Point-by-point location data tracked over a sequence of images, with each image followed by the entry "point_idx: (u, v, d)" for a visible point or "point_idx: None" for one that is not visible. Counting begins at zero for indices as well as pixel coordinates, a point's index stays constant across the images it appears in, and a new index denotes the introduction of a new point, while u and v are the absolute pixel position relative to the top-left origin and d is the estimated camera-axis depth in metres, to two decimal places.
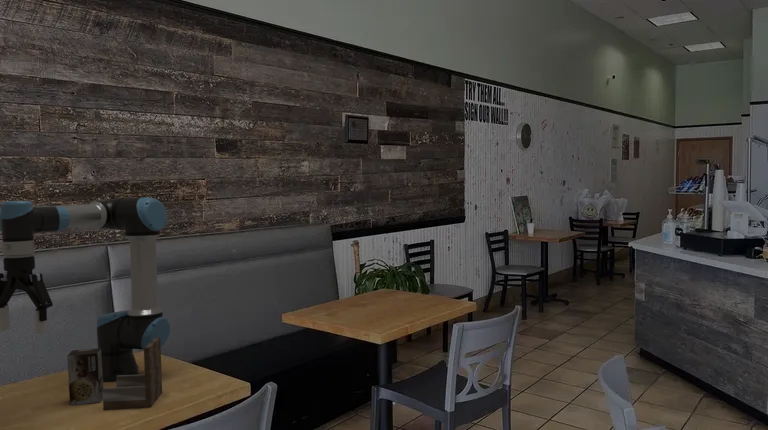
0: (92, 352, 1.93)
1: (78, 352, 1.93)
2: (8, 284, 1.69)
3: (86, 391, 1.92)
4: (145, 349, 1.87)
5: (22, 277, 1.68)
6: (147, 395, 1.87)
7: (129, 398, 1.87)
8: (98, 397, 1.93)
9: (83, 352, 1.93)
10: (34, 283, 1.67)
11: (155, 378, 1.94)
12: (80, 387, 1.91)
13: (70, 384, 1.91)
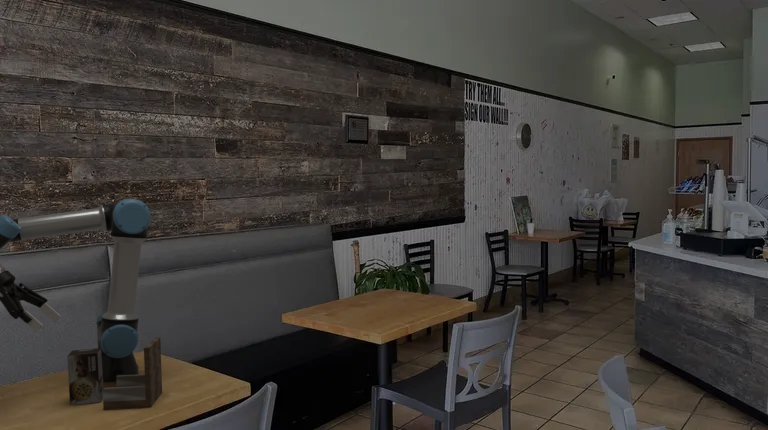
0: (92, 352, 1.93)
1: (78, 352, 1.93)
2: None
3: (86, 391, 1.92)
4: (145, 349, 1.87)
5: None
6: (147, 395, 1.87)
7: (129, 398, 1.87)
8: (98, 397, 1.93)
9: (83, 352, 1.93)
10: None
11: (155, 378, 1.94)
12: (80, 387, 1.91)
13: (70, 384, 1.91)
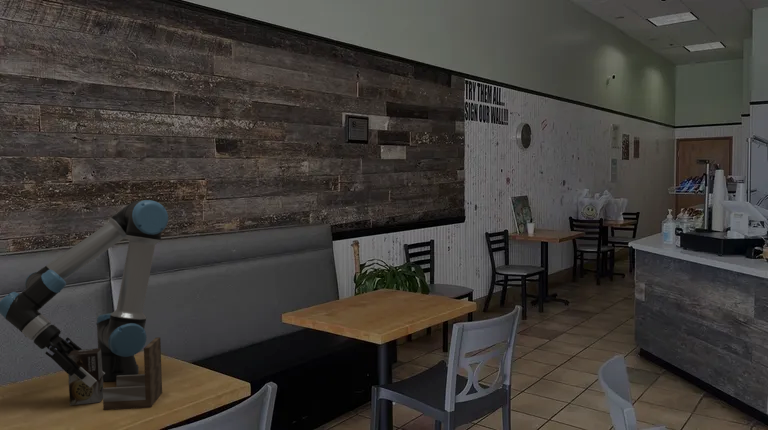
0: (92, 352, 1.93)
1: (78, 352, 1.93)
2: None
3: (86, 391, 1.92)
4: (145, 349, 1.87)
5: None
6: (147, 395, 1.87)
7: (129, 398, 1.87)
8: (98, 397, 1.93)
9: (83, 352, 1.93)
10: None
11: (155, 378, 1.94)
12: (80, 387, 1.91)
13: (70, 384, 1.91)
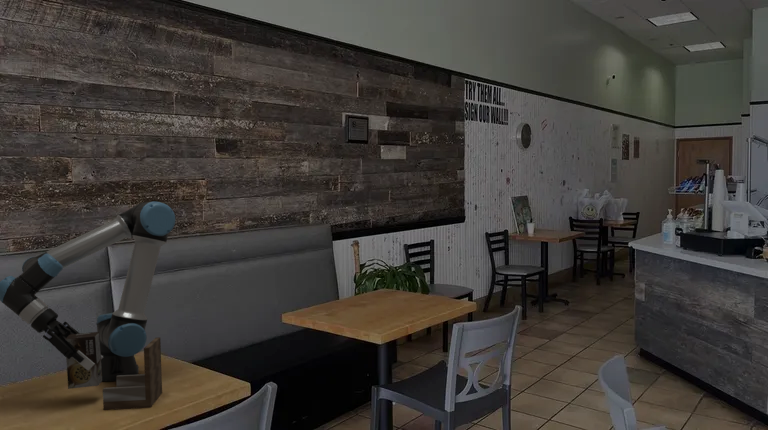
0: (90, 336, 1.92)
1: (76, 336, 1.93)
2: None
3: (84, 375, 1.91)
4: (145, 349, 1.87)
5: None
6: (147, 395, 1.87)
7: (129, 398, 1.87)
8: (96, 380, 1.92)
9: (81, 336, 1.93)
10: None
11: (155, 378, 1.94)
12: (78, 371, 1.91)
13: (68, 367, 1.90)
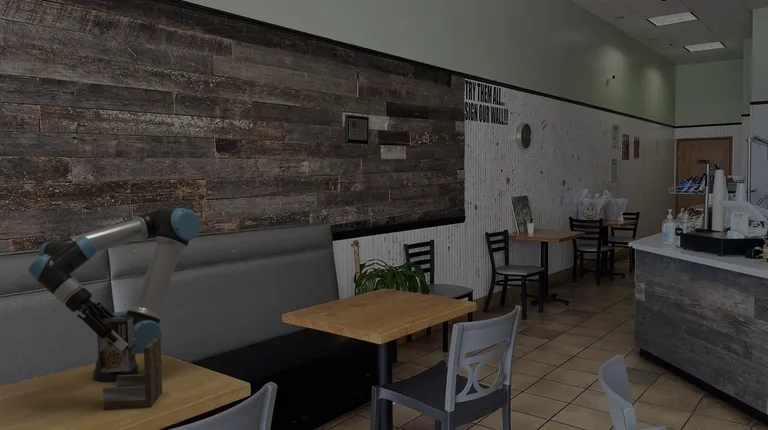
0: (123, 320, 1.90)
1: (110, 319, 1.91)
2: None
3: (116, 359, 1.89)
4: (145, 349, 1.87)
5: None
6: (147, 395, 1.87)
7: (129, 398, 1.87)
8: (128, 366, 1.90)
9: (114, 319, 1.91)
10: None
11: (155, 378, 1.94)
12: (111, 355, 1.89)
13: (101, 351, 1.89)
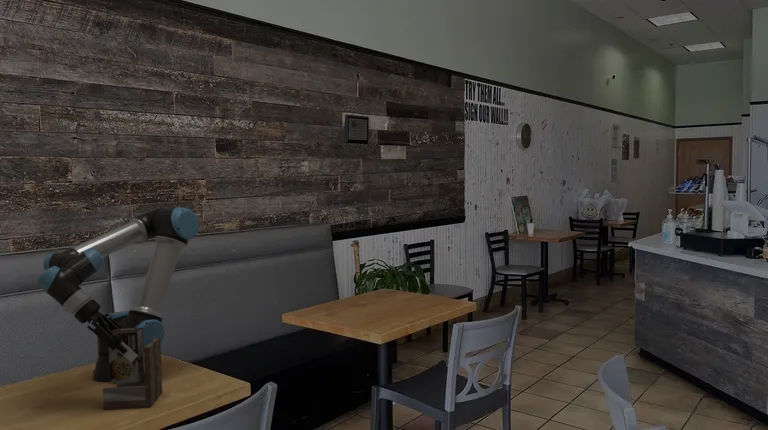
0: (133, 331, 1.91)
1: (119, 331, 1.92)
2: None
3: (126, 371, 1.90)
4: (145, 349, 1.87)
5: None
6: (147, 395, 1.87)
7: (129, 398, 1.87)
8: (137, 377, 1.91)
9: (124, 331, 1.91)
10: None
11: (155, 378, 1.94)
12: (120, 366, 1.90)
13: (110, 362, 1.89)
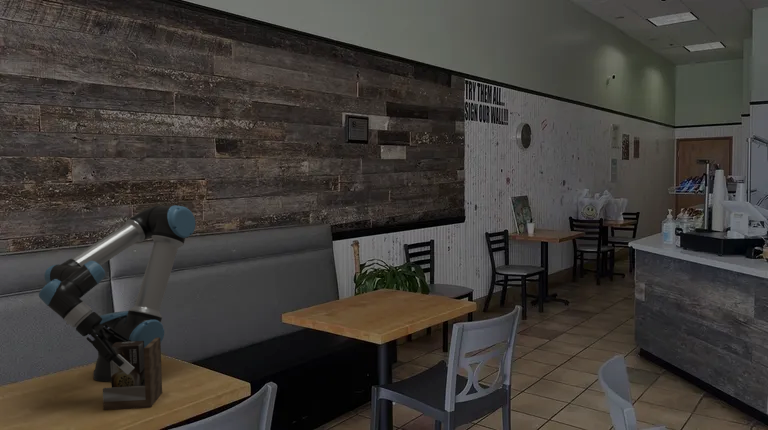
0: (134, 345, 1.91)
1: (120, 344, 1.92)
2: None
3: (128, 384, 1.90)
4: (145, 349, 1.87)
5: None
6: (147, 395, 1.87)
7: (129, 398, 1.87)
8: None
9: (125, 344, 1.92)
10: None
11: (155, 378, 1.94)
12: (122, 380, 1.90)
13: (112, 376, 1.90)
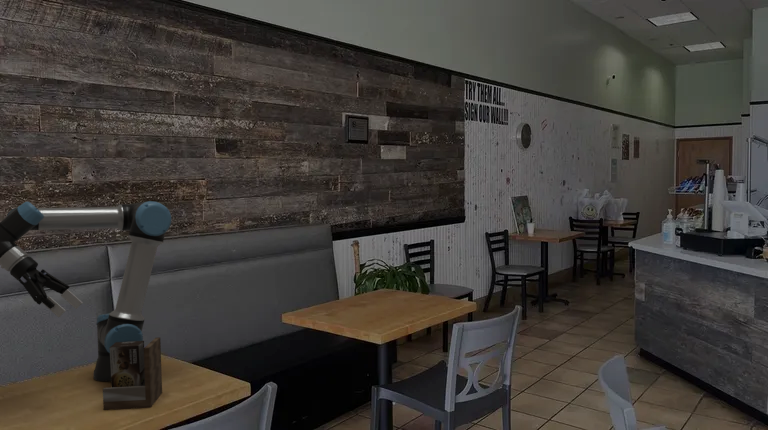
0: (134, 345, 1.91)
1: (120, 344, 1.92)
2: None
3: (128, 384, 1.90)
4: (145, 349, 1.87)
5: None
6: (147, 395, 1.87)
7: (129, 398, 1.87)
8: None
9: (125, 344, 1.92)
10: None
11: (155, 378, 1.94)
12: (122, 380, 1.90)
13: (112, 376, 1.90)
